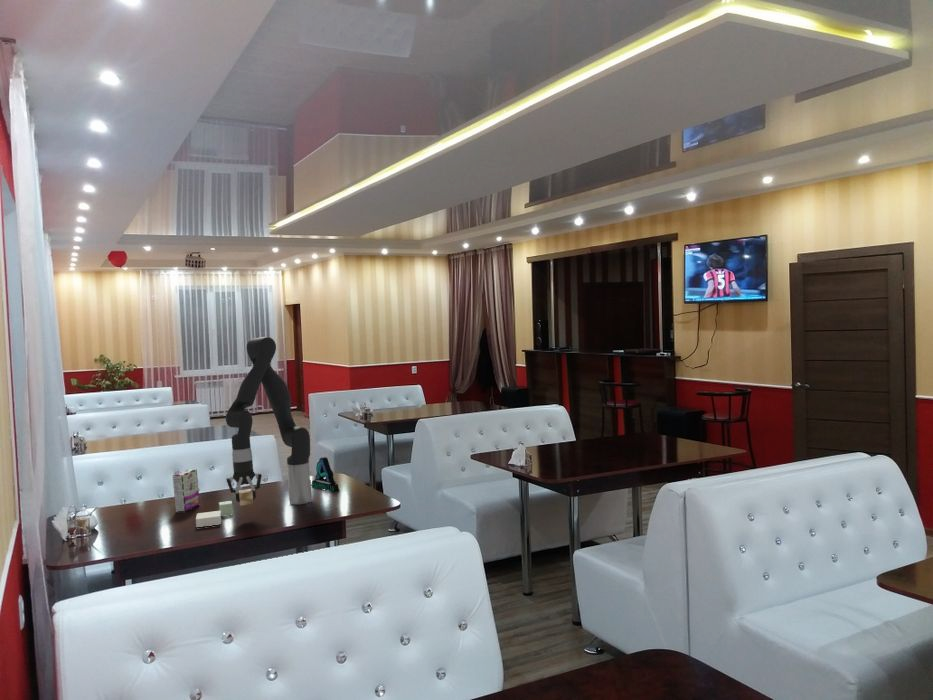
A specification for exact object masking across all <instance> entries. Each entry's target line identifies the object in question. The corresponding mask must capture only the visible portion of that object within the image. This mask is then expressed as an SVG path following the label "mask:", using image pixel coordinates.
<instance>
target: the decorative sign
mask: <svg viewBox="0 0 933 700" xmlns="http://www.w3.org/2000/svg"><path fill="white" fill-rule="evenodd" d="M315 468H316V475H315V479H313V480H311V486H313V487H312V488H314V487H317V488H316V489H318V488H320V489H319V490H322V489H325V490H324V491H326V490H329V491H328V492H331V491H332V492H331V493H337V492H340V488H339V484H338V483H337V482H336V481H335V479H334V472H333V470H332V468H331V465H330V461H329V460H328V457H326V456H323V457H320V458H319V461H318V462H317V463H316V467H315Z"/></svg>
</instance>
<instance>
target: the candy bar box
mask: <svg viewBox="0 0 933 700" xmlns="http://www.w3.org/2000/svg"><path fill="white" fill-rule="evenodd" d="M172 482H173V483H172V484H173V493H174V504H175V513H179V512H178V511H187V510H189V509H191V508H193V507H195V506H197V505H199V504H201V502H200V493H199V490H200V489H199V479H198V469H197V468H188V469H184V470H181V471H180V472H177V473H174V474H173V475H172ZM199 506H200V505H199ZM197 507H198V506H197ZM195 508H196V507H195ZM193 509H194V508H193ZM191 510H192V509H191ZM189 511H190V510H189ZM187 512H188V511H187Z"/></svg>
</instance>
